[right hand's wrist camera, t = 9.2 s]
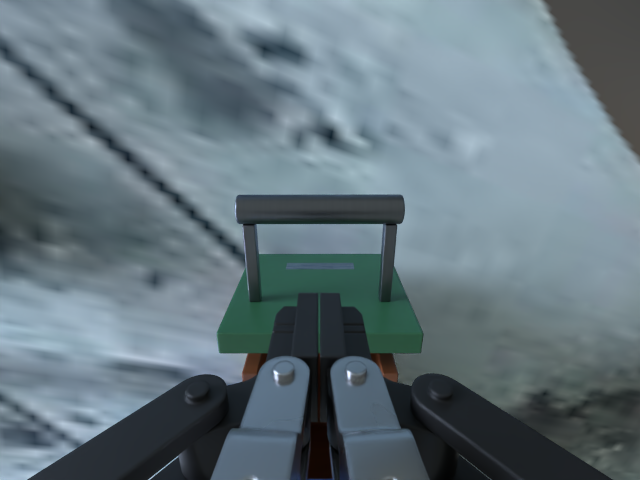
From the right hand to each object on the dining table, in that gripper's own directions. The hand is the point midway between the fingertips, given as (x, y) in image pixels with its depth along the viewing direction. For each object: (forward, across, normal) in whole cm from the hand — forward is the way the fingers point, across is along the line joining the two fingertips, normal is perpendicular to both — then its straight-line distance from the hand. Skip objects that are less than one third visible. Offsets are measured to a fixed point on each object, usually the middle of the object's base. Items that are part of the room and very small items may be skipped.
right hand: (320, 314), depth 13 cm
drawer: (+12, 0, -8) cm, 14 cm away
